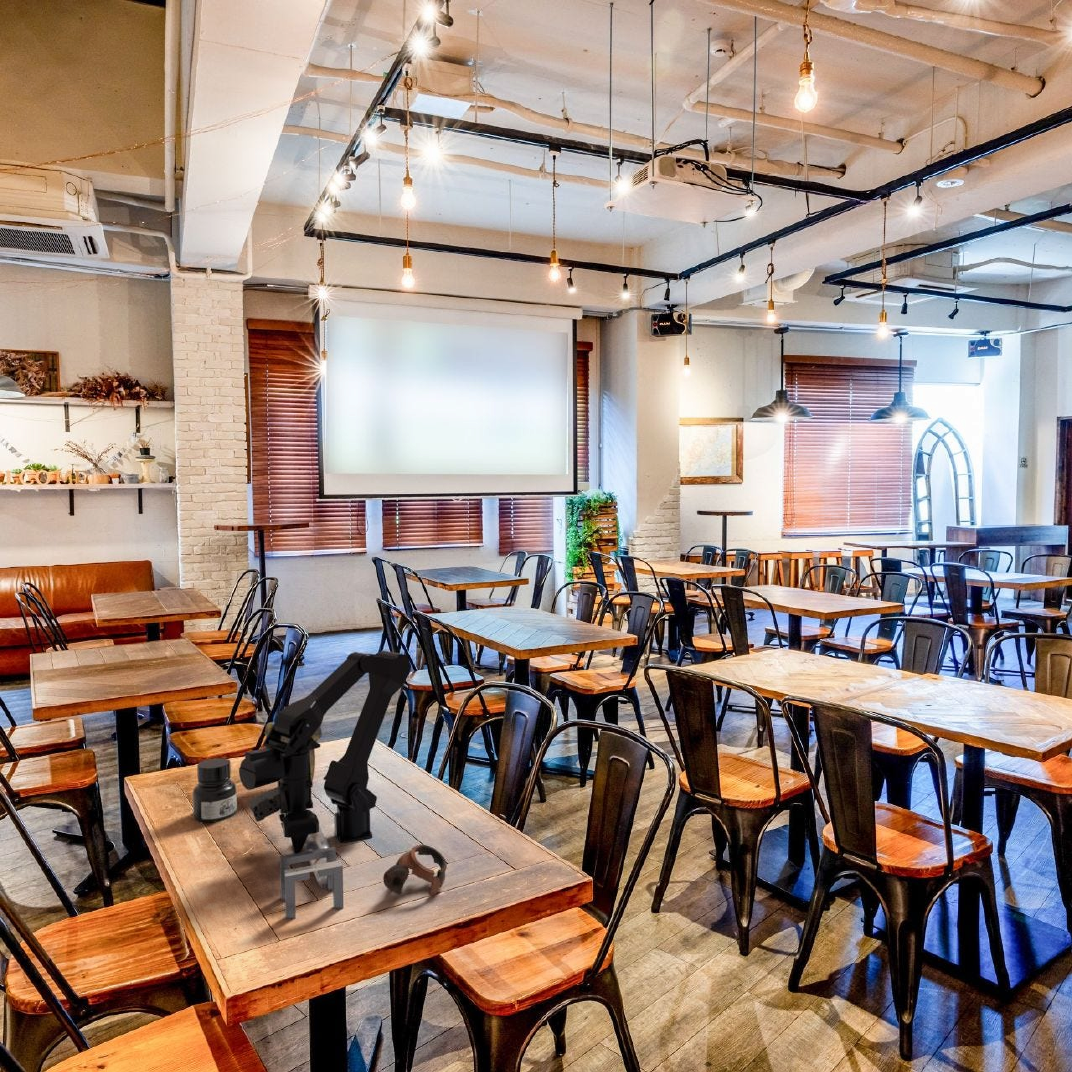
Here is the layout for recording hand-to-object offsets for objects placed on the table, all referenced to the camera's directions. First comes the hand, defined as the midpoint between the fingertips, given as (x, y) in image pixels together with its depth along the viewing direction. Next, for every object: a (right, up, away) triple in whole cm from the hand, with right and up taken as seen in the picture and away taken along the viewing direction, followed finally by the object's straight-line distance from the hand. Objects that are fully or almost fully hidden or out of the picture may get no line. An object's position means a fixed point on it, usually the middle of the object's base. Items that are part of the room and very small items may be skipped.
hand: (297, 853), depth 157 cm
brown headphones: (+22, -3, -13) cm, 26 cm away
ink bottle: (-24, 0, +21) cm, 32 cm away
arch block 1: (+6, -2, -14) cm, 16 cm away
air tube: (+3, 0, -3) cm, 4 cm away
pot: (-11, +1, +37) cm, 39 cm away
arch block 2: (+9, -2, -21) cm, 23 cm away
